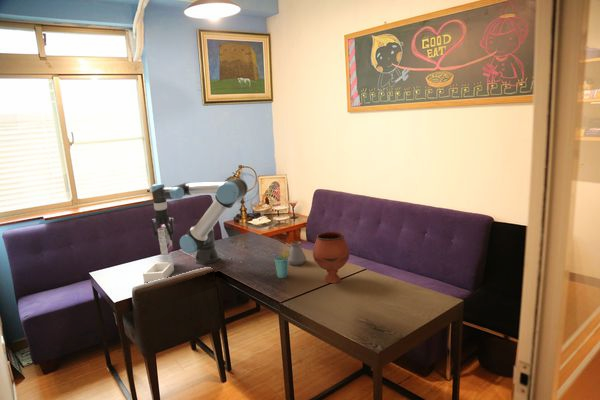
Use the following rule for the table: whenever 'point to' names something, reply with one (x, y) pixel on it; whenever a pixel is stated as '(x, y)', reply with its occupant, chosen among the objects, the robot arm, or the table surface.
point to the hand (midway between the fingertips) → (166, 245)
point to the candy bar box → (164, 240)
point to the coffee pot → (295, 253)
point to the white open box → (158, 271)
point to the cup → (281, 264)
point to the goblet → (331, 254)
